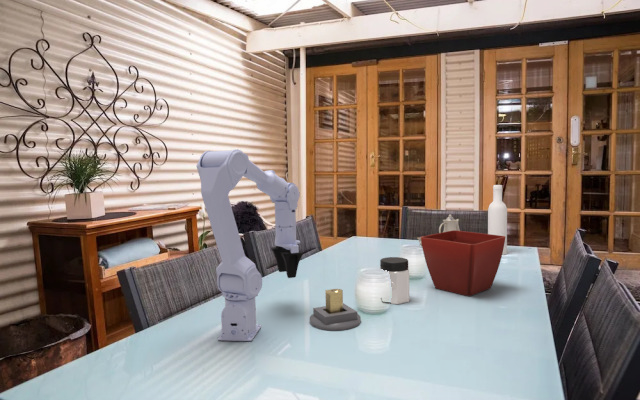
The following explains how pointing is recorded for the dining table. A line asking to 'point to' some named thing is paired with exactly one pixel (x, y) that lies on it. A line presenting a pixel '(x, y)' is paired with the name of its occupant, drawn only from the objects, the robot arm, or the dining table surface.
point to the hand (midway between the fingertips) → (287, 274)
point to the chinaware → (447, 226)
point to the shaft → (334, 301)
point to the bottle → (498, 216)
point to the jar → (397, 278)
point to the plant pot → (463, 260)
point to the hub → (335, 319)
